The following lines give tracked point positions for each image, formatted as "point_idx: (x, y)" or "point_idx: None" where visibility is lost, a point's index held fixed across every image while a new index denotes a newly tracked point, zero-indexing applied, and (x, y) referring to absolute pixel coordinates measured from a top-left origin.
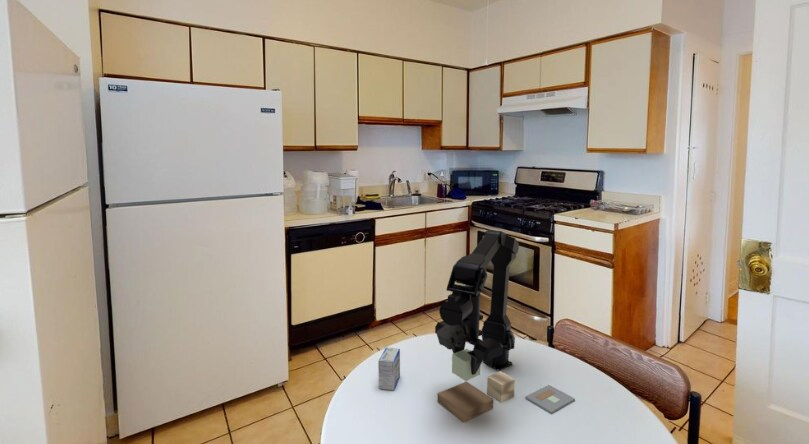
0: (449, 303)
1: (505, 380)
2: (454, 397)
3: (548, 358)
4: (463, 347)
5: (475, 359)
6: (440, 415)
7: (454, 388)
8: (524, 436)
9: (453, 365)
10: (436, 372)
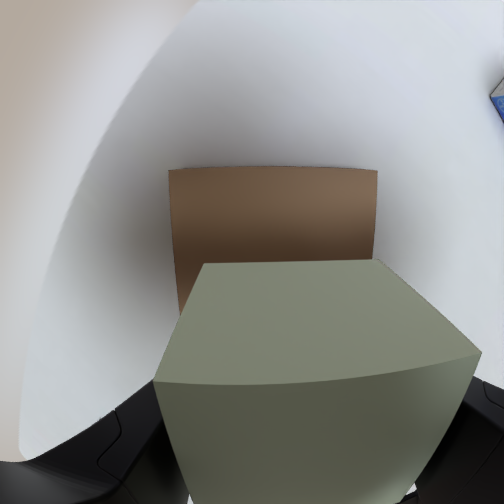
0: None
1: None
2: (299, 216)
3: None
4: (428, 495)
5: (29, 460)
6: (277, 114)
7: None
8: (43, 297)
9: (390, 287)
10: (480, 302)
